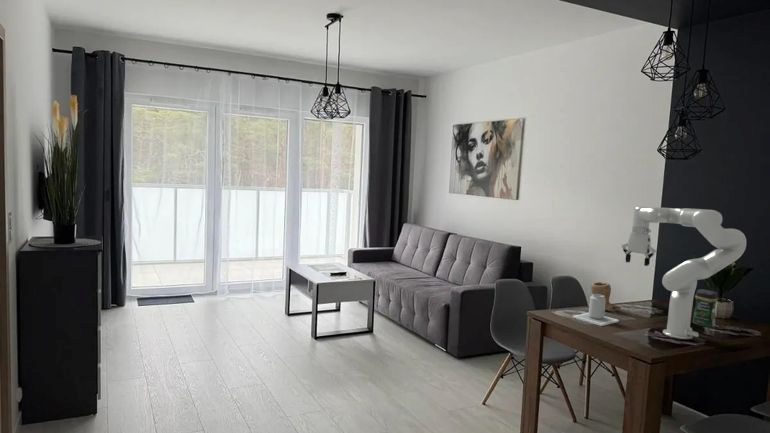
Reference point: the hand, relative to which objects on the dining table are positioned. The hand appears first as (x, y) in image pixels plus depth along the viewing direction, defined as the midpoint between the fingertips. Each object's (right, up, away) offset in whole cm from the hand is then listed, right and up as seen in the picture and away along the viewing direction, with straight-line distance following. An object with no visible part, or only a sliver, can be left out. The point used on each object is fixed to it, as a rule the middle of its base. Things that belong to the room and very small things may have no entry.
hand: (637, 263), depth 272 cm
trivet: (-20, -29, +2) cm, 36 cm away
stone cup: (-7, -28, +26) cm, 39 cm away
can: (-20, -28, +2) cm, 35 cm away
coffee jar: (+36, -32, +4) cm, 49 cm away
